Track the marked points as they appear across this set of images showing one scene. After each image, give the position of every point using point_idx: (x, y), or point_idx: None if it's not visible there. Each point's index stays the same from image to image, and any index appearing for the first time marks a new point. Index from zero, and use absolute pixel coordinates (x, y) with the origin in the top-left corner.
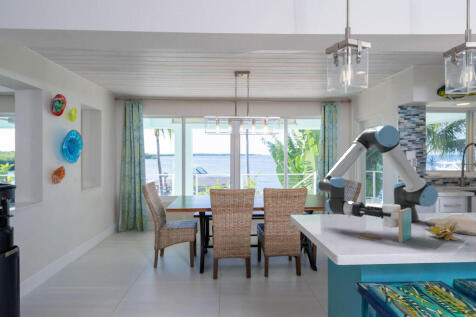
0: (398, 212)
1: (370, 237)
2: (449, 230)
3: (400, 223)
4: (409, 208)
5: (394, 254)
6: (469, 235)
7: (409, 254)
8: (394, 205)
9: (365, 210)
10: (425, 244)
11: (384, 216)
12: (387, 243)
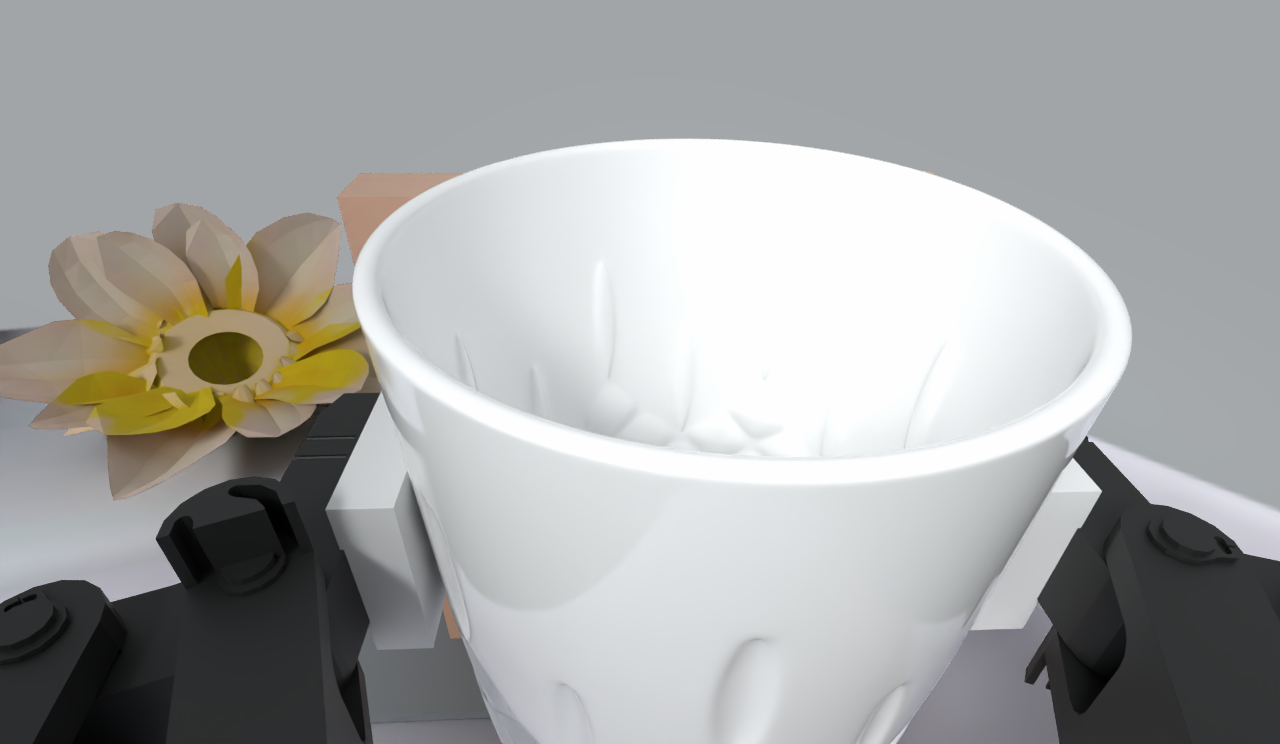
0: (735, 305)
1: None
2: (224, 314)
3: None
4: (434, 176)
5: (1259, 506)
6: (17, 335)
7: (1092, 440)
8: (411, 274)
9: None
10: None
11: (1018, 597)
12: (1012, 728)
